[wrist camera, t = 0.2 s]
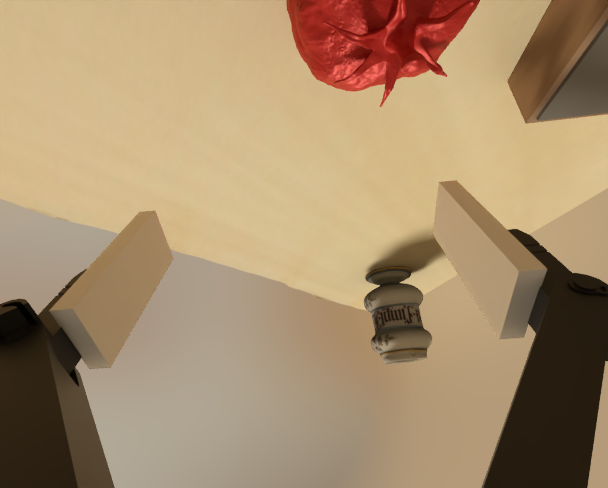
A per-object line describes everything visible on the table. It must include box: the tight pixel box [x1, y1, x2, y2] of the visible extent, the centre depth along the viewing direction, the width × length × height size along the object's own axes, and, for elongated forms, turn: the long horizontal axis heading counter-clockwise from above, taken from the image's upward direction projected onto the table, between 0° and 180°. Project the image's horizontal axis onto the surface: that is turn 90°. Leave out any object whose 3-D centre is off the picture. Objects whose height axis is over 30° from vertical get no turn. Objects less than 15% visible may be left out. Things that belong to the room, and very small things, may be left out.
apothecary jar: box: [364, 267, 432, 364], centre depth 69 cm, size 12×12×18 cm
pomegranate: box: [287, 0, 480, 107], centre depth 17 cm, size 10×10×9 cm
